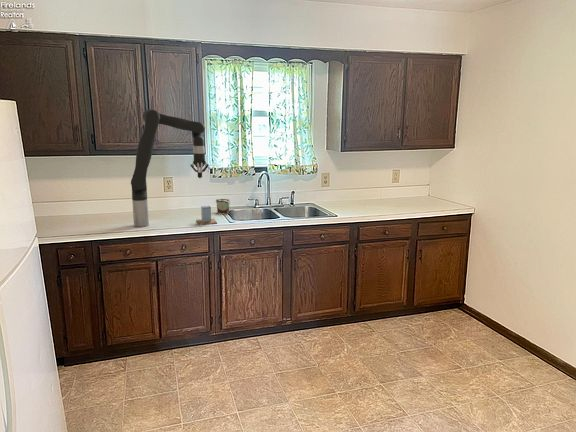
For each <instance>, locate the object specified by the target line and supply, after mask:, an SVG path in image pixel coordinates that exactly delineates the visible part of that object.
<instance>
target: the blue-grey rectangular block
mask: <svg viewBox="0 0 576 432" xmlns="http://www.w3.org/2000/svg"><path fill="white" fill-rule="evenodd" d="M200 208H201V209H200V212H201V217H200V218H201V219H202V222H211V219H212V206H210V205H201V206H200Z"/></svg>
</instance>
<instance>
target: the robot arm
mask: <svg viewBox="0 0 576 432" xmlns="http://www.w3.org/2000/svg"><path fill="white" fill-rule="evenodd" d="M142 120H143V121H144V129H143V132H142V135H141V137H140V139H139V142H138V145H137V150H136V154H135V155H136V157H135V167H134V171H133V174H132V177H131V179H130V185H131V200H132V214H133V215H132V216H133V217H132V218H133V227H134V228H143V227H148V226H149V207H148V205H149V204H148V188H147V186H148V185H147V174H148V168H149V166H150V162H151V159H152V156H153V152H154V145H155V141H156V134H157V130H158V127H159V125H164V126H168V127H171V128H174V129H178V130H183V131H188V132H189V131H190V132H191V133H192V138H193V139H192V140H193V141H192V142H193V149H192V150H193V160H192V163H191V164H190V165H189V166H190V168H192V170H193V171H194V172H195V173H197V178H198V179H202V178H203V173H204V172H205V171H206V170H207V169H208V168H209V164H208V163H207V162H206V152H205V150H206V149H205V139H204V137H203V133H204V132H205V130H206V126H205V124H204V123H202V122H198V121H194V120H189V119H185V118H182V117H177V116H171V115H166V114H163V113H160V112H158V111H157V110H155V109H151V108H149V109H146V110H144V111H143V112H142ZM195 167H196V168H195Z"/></svg>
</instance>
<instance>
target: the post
mask: <svg viewBox="0 0 576 432" xmlns="http://www.w3.org/2000/svg"><path fill="white" fill-rule="evenodd" d="M195 220H196V222H197V224H198V225H199V226H200V225H201V226H204V225H217V224H218V222H217V221H216V219H215V218H211V222H202V218H201V219H195Z"/></svg>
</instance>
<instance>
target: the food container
mask: <svg viewBox="0 0 576 432" xmlns="http://www.w3.org/2000/svg"><path fill="white" fill-rule="evenodd" d="M215 203H216V211H217V213H218V214H222V213H225V214H224V215H229V213H230V205H231V200H230V199H228V198H218V199H217V198H216V200H215Z"/></svg>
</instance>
